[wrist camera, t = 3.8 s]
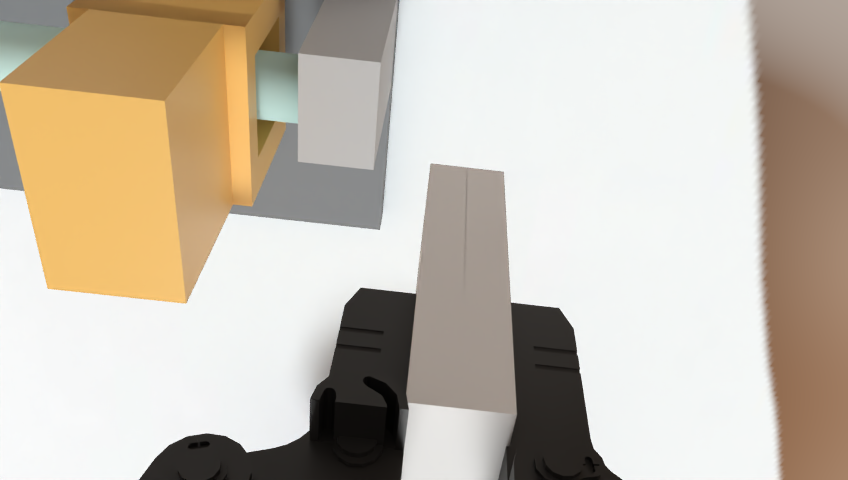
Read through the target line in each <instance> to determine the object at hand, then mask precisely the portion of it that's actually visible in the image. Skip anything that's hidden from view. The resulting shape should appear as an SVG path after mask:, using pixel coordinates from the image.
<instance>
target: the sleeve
mask: <svg viewBox="0 0 848 480" xmlns="http://www.w3.org/2000/svg"><path fill="white" fill-rule="evenodd" d="M66 8H67V14H68V20H69V26H68V27H66V28H65V29H64V30H63V31H61V32H60V33H59V34H58V35H57V36H55V37H54V38H53V39H52V40H50V41H49V42H48V43H47V44H45V45H44V46H43V47H42V48H41V49H39V50H38V51H37V52H36V53H34V54H33V55H32V56H31V57H30V58H28V59H27V60H26V61H25V62H23V63H22V64H21V65H20V66H18V67H17V68H16V69H15V70H14V71H12V72H11V73H10V74H9V75H7V76H6V77H5V78H4V79H2V80H1V81H0V90H1V94H2V99H3V103H4V107H5V111H6V115H7V120H8V124H9V128H10V132H11V136H12V141H13V145H14V149H15V153H16V157H17V162H18V166H19V170H20V174H21V178H22V183H23V187H24V191H25V195H26V199H27V204H28V208H29V212H30V216H31V220H32V225H33V229H34V233H35V237H36V241H37V246H38V250H39V254H40V258H41V262H42V267H43V271H44V275H45V279H46V283H47V288H48V289H56V290H65V291H74V292H83V293H93V294H102V295H111V296H121V297H130V298H139V299H148V300H158V301H167V302H176V303H187V301H188V299H189V296H190V294H191V292H192V290H193V288H194V286H195V284H196V282H197V280H198V277H199V275H200V273H201V271H202V269H203V267H204V265H205V263H206V260H207V258H208V256H209V254H210V252H211V250H212V248H213V246H214V244H215V241H216V239H217V237H218V235H219V233H220V231H221V229H222V227H223V225H224V222H225V220H226V218H227V216H228V214H229V212H230V210H231V208H232V205H242V206H251V207H252V206H253V204H254V201H255V199H256V197H257V194H258V192H259V190H260V187H261V185H262V183H263V181H264V178H265V176H266V174H267V171H268V169H269V167H270V164H271V162H272V160H273V157H274V155H275V153H276V150H277V148H278V146H279V144H280V141H281V139H282V137H283V134H284V132H285V130H286V122H278V121H269V120H260V119H257V106H256V74H255V55H256V53H257V52H258V50H265V51H274V52H283V53H285V0H75V1H73V2H72V3H71V4H69V5H68V6H67V7H66Z"/></svg>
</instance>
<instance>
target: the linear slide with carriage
mask: <svg viewBox="0 0 848 480" xmlns="http://www.w3.org/2000/svg"><path fill="white" fill-rule="evenodd" d="M73 1H75V0H0V81H1V80H2V79H4V78H5V77H6V76H7V75H9V74H10V73H11V72H12V71H14V70H15V69H16V68H17V67H18V66H20V65H21V64H22V63H23V62H25V61H26V60H27V59H28V58H30V57H31V56H32V55H33V54H34V53H36V52H37V51H38V50H39V49H41V48H42V47H43V46H44V45H45V44H47V43H48V42H49V41H50V40H52V39H53V38H54V37H55V36H57V35H58V34H59V33H60V32H61V31H63V30H64V29H65V28H66V27H68V26H69V20H68V14H67V8H66V7H67V6H68V5H69V4H71V3H72V2H73ZM398 9H399V0H285V53H283V52H274V51H265V50H258V52H257V53H256V55H255V74H256V106H257V119H260V120H269V121H278V122H286V130H285V132H284V134H283V137H282V139H281V141H280V144H279V146H278V148H277V150H276V153H275V155H274V157H273V160H272V162H271V164H270V167H269V169H268V171H267V174H266V176H265V178H264V181H263V183H262V185H261V187H260V190H259V192H258V194H257V197H256V199H255V201H254V204H253V206H252V207H251V206H242V205H232V208H231V210H230V212H229V213H231V214H240V215H250V216H259V217H268V218H277V219H286V220H295V221H304V222H314V223H323V224H332V225H341V226H350V227H359V228H368V229H378V230H380V225H381V219H382V213H383V200H384V187H385V175H386V162H387V149H388V136H389V124H390V111H391V98H392V86H393V73H394V60H395V47H396V35H397V22H398ZM0 188H2V189H12V190H21V191H24V187H23V183H22V178H21V174H20V170H19V166H18V162H17V157H16V153H15V149H14V145H13V141H12V136H11V132H10V128H9V124H8V120H7V115H6V111H5V107H4V103H3V99H2V94H1V90H0Z"/></svg>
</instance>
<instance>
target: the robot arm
mask: <svg viewBox="0 0 848 480" xmlns="http://www.w3.org/2000/svg"><path fill="white" fill-rule="evenodd" d="M579 370H580V367H579V361H578V355H577V348H576V341H575V335H574V329H573V327H572V326H571V324H570V323H569V322H568V320H567V319H566V317H565V316H564V315H563V313H562V312H561V310H560V309H559V308H553V307H544V306H535V305H526V304H517V303H511V297H510V278H509V260H508V242H507V223H506V205H505V186H504V172H501V171H492V170H483V169H474V168H466V167H457V166H448V165H439V164H431V165H430V173H429V182H428V191H427V199H426V208H425V216H424V225H423V233H422V242H421V251H420V259H419V268H418V277H417V286H416V294H412V293H403V292H394V291H385V290H377V289H368V288H360V289H359V290H358V291H357V292H356V294H355V295H354V296H353V297H352V298H351V299H350V300H349V301H348V302H347V303H346V305H345V307H344V312H343V316H342V321H341V325H340V331H339V334H338V339H337V343H336V348H335V352H334V357H333V361H332V365H331V370H330V374H329V377H327V378H326V379H325V380H324V381H322V382H321V383H320V384H318V385H317V387H316V389H315V391H314V392H313V394H312V396H311V398H310V431H308V432H307V433H306V434H305V435H303V436H302V437H301V438H299V439H297V440H295V441H293V442H291V443H289V444H287V445H283V446H280V447H276V448H272V449H266V450H260V451H254V452H248V453H246V451H245V450H244V449H243V447H242V446H241V445H240V444H239V443H237V442H235V441H233V440H232V439H230V438H228V437H226V436H221V435H214V434H200V435H194V436H188V437H185V438H183V439H181V440H179V441H177V442H175V443H173V444H171V445H169V446H168V447H167V448H166V449H165V450H164V451H163V452H161V453H160V454H159V455H158V456H157V457H156V458H155V459H154V461H153V462H152V463H151V465H150V466H149V467H148V469H147V470H146V471H145V473H144V474H143V475H142V477H141V478H140V479H139V480H622V479H621V478H619V477H618V476H617V475H615V474H614V473H612V472H611V471H610V470H609V469H608V468H607V467H606V466H605V464H604V462H603V459H602V457H601V456H600V455H599V454H598V453H597V452H596V451H595V450H594V449H593V445H592V442H591V439H590V433H589V426H588V420H587V413H586V407H585V400H584V394H583V387H582V380H581V374H580V373H579Z"/></svg>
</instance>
